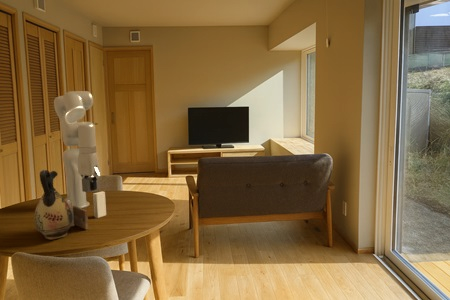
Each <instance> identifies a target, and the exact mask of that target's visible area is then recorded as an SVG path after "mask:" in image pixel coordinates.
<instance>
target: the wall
mask: <svg viewBox="0 0 450 300" xmlns="http://www.w3.org/2000/svg"><path fill="white" fill-rule="evenodd" d="M92 197H93V198H92V199H93V212H94V213H93V214H94V218H97V219H99V218H102V217H104V216H107V206H106V204H107V203H106V202H107V201H106V192H105V191H99V192H95V193H92ZM66 202H67V203H68V205H69V207H70V209H71V212H72V215H73V221H72V224H71V227H74V226H75V224H74V214H73V201H71V200H68V201H66Z"/></svg>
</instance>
